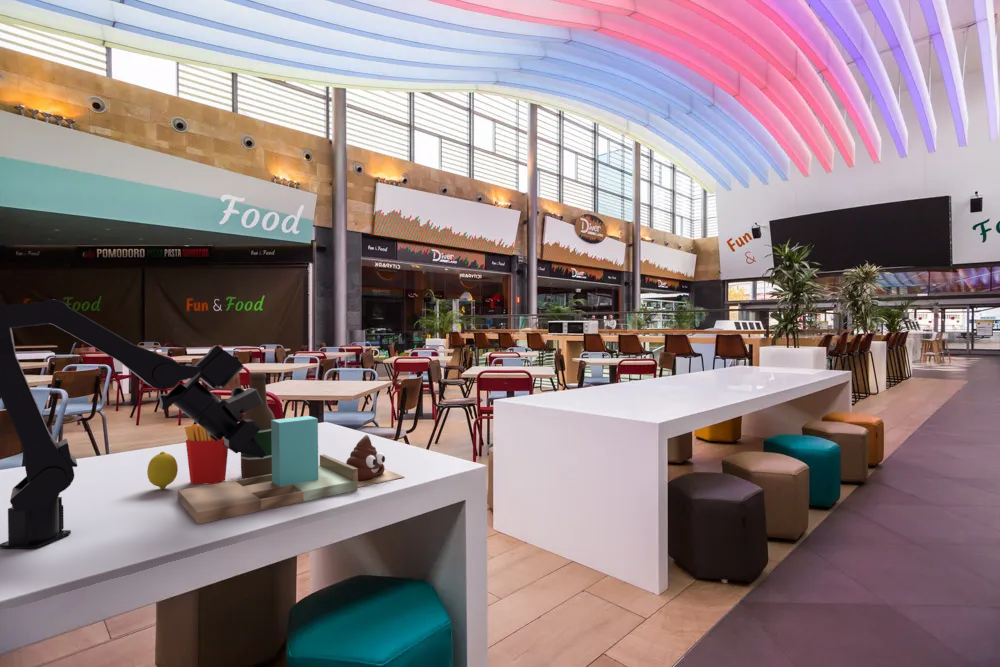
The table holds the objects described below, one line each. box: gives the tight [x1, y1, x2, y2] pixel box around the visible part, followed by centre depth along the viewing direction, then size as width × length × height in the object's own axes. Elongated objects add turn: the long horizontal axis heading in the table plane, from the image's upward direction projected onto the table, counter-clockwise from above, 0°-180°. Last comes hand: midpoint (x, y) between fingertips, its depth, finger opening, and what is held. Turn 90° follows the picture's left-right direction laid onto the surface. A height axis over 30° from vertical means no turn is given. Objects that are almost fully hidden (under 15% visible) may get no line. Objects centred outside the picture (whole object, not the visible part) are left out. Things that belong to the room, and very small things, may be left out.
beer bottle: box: [240, 372, 276, 479], centre depth 126 cm, size 8×8×24 cm
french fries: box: [184, 423, 229, 485], centre depth 121 cm, size 9×4×13 cm, turn 90°
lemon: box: [146, 451, 179, 490], centre depth 116 cm, size 6×6×8 cm
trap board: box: [177, 454, 359, 525], centre depth 110 cm, size 30×18×4 cm, turn 130°
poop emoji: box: [345, 434, 386, 481], centre depth 123 cm, size 10×8×9 cm
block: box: [271, 415, 319, 487], centre depth 114 cm, size 8×5×13 cm, turn 130°
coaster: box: [358, 468, 405, 488], centre depth 123 cm, size 13×13×1 cm
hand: (263, 456), depth 110 cm, fingers closed
